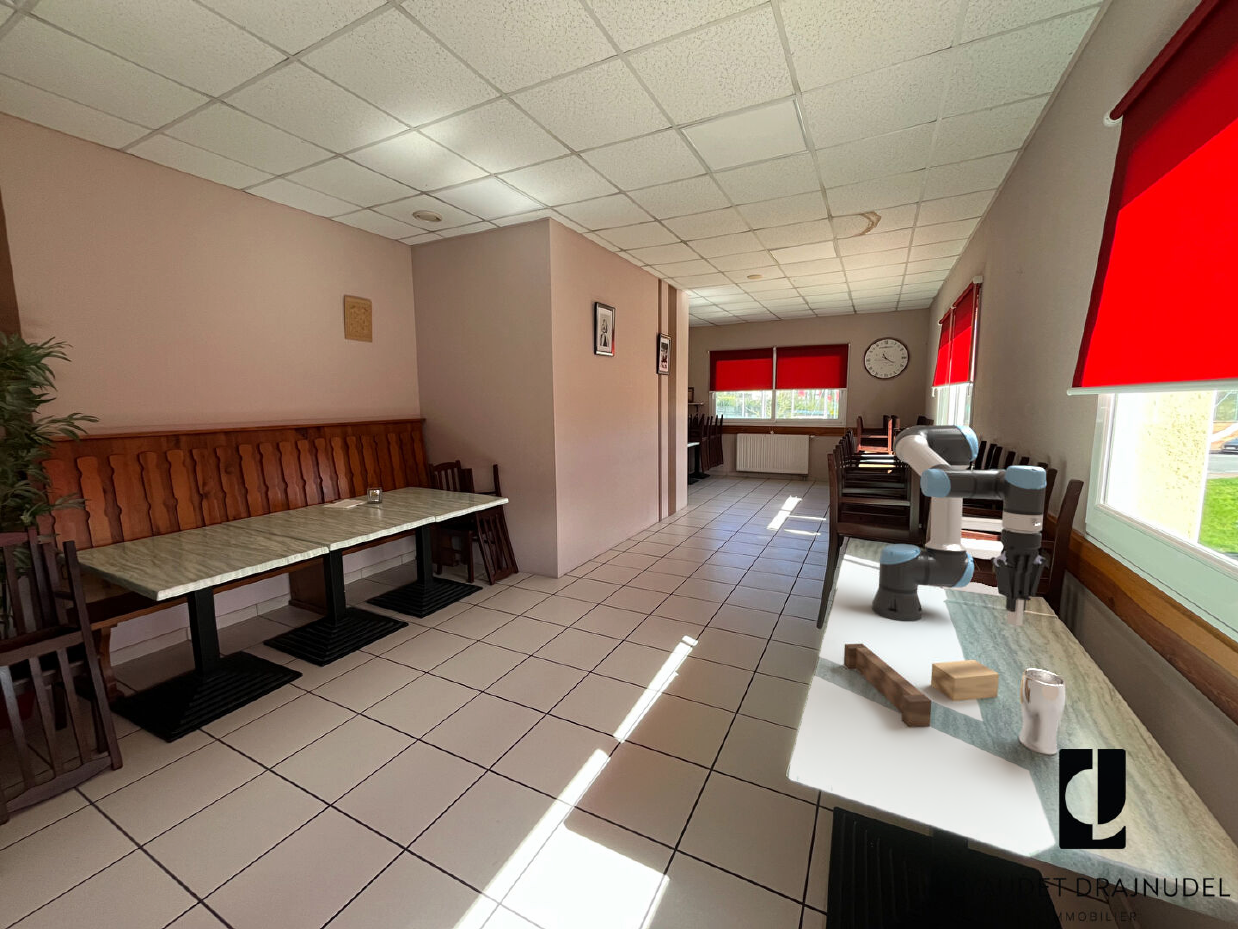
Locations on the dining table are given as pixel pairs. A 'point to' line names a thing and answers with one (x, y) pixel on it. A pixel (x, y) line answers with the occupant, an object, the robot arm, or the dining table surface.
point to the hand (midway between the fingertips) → (1014, 623)
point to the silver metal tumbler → (1041, 709)
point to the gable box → (981, 550)
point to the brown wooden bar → (890, 685)
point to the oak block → (964, 680)
